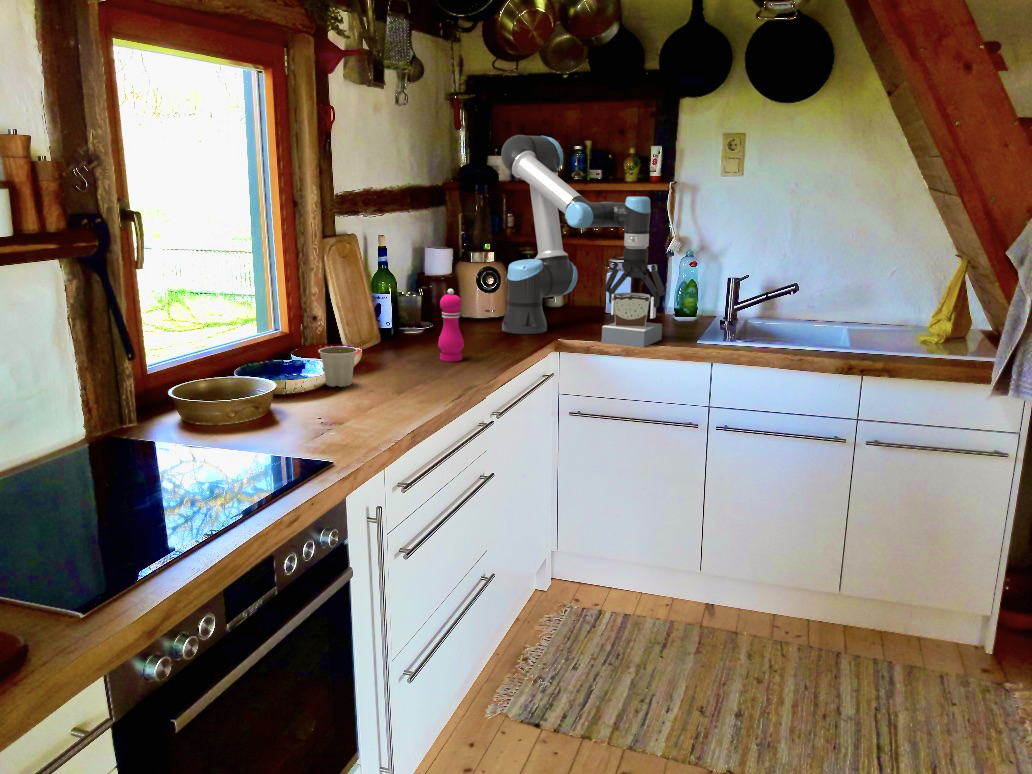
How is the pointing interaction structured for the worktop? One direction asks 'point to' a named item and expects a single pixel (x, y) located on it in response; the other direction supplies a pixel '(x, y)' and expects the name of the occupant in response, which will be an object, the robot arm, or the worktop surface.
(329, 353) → the flower pot
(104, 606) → the worktop surface
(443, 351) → the pepper mill
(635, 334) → the block
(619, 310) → the food container
